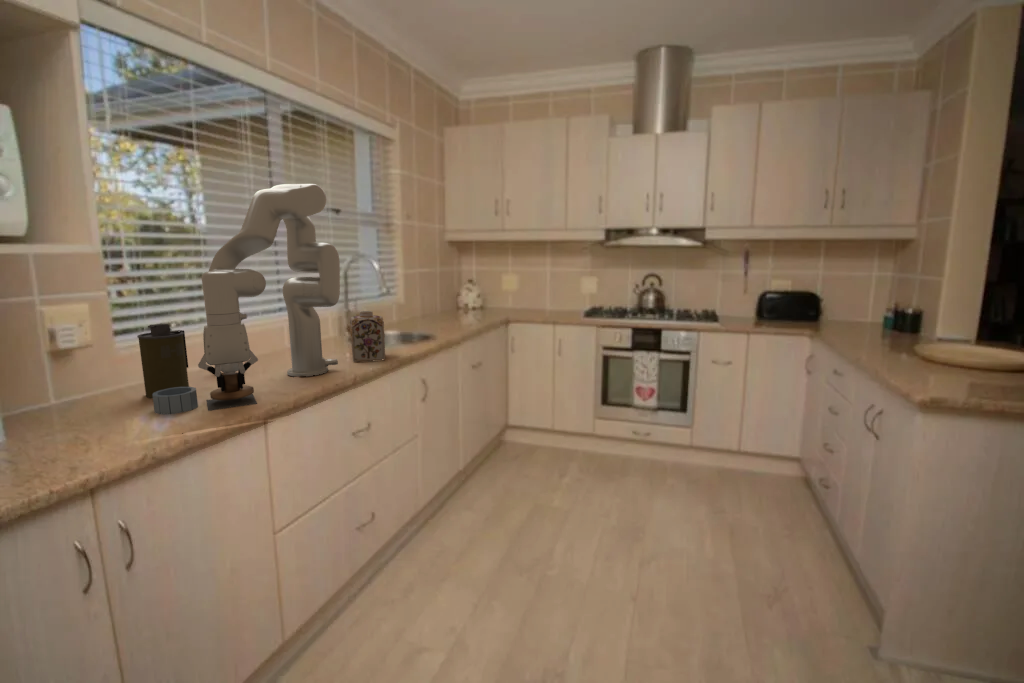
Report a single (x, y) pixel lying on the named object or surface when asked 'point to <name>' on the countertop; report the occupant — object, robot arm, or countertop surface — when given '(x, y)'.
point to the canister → (163, 358)
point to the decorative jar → (367, 337)
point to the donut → (229, 367)
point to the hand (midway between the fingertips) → (231, 388)
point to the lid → (231, 388)
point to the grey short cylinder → (175, 400)
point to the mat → (230, 403)
